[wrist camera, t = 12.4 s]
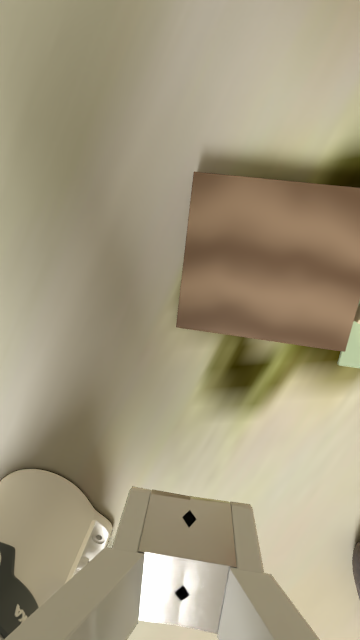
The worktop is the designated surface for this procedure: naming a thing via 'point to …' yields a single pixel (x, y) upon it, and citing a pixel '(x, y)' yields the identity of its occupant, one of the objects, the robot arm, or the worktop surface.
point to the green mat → (352, 348)
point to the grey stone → (356, 566)
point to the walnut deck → (271, 260)
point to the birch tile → (357, 315)
